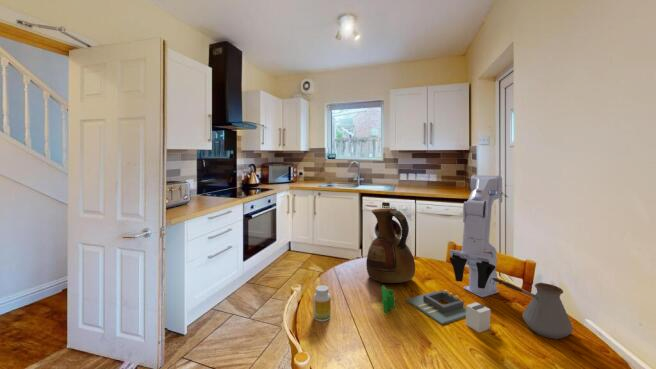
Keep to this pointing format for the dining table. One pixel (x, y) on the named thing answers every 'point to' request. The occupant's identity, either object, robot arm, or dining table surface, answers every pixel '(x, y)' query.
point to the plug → (478, 317)
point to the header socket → (439, 306)
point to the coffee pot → (545, 311)
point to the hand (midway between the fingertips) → (469, 284)
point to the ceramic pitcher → (390, 250)
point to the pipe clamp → (387, 299)
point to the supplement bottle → (322, 303)
